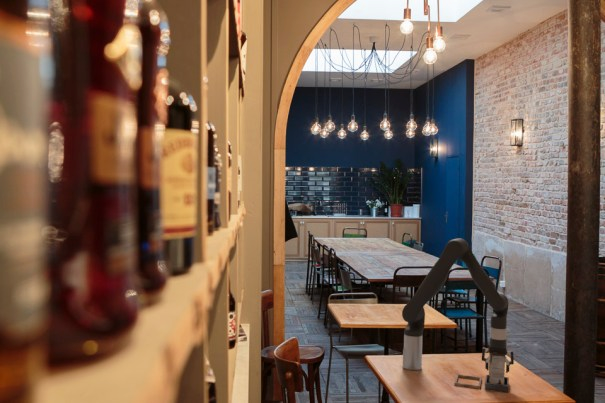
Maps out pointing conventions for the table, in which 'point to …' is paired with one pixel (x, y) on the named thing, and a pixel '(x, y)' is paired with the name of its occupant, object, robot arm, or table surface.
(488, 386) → the box
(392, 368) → the table surface
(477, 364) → the table surface
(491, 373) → the coffee box
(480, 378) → the tray frame
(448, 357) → the table surface
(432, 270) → the robot arm
